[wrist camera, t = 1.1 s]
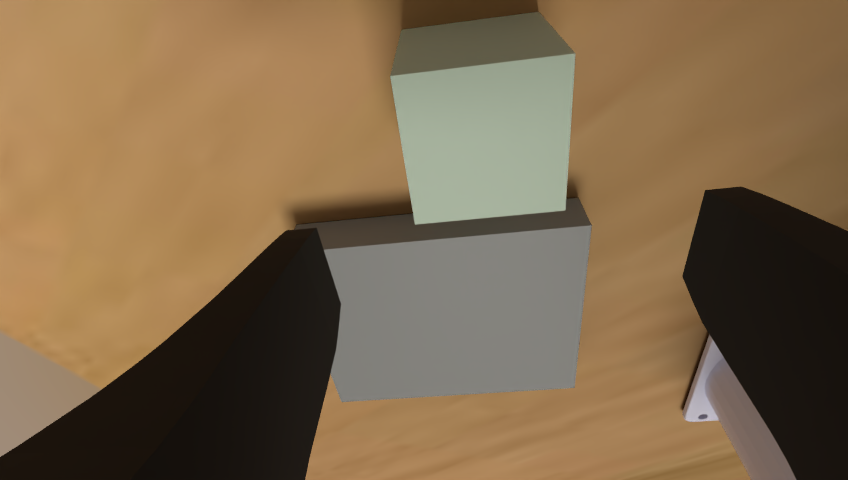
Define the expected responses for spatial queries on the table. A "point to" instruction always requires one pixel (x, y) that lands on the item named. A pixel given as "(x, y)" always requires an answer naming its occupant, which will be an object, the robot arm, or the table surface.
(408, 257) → the slate plinth
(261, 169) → the table surface
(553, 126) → the sage cube
